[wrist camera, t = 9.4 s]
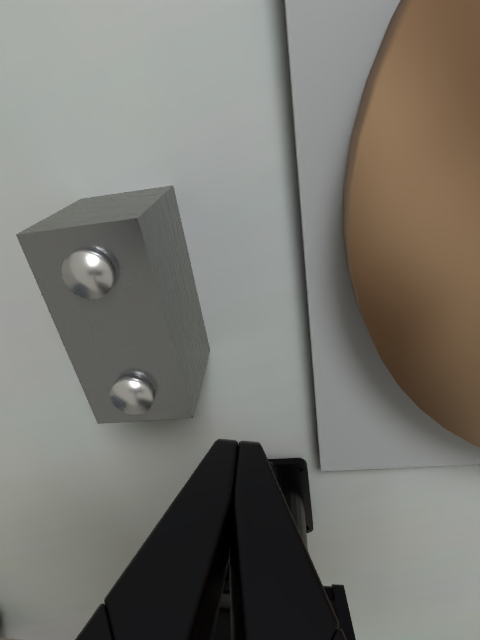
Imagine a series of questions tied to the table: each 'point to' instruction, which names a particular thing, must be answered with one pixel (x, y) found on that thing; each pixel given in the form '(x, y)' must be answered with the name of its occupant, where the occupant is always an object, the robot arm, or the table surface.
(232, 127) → the table surface
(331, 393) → the base plate
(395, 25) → the round wooden board
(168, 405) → the steel link block
